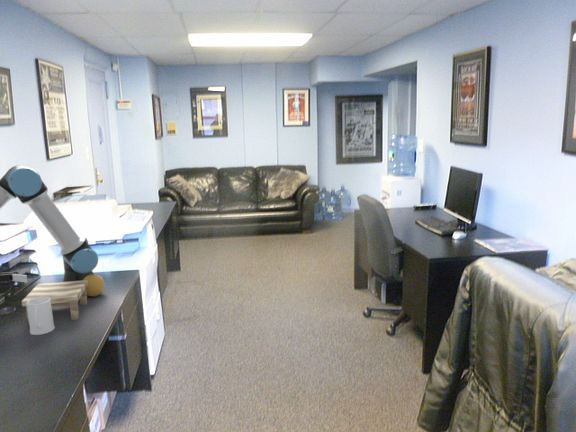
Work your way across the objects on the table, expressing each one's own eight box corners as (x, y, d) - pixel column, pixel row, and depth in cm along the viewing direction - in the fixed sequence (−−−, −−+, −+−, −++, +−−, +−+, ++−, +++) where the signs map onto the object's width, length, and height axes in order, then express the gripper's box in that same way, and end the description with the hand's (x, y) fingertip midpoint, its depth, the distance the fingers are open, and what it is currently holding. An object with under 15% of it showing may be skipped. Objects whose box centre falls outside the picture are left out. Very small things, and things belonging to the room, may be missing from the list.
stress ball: (108, 295, 213) (103, 278, 219) (104, 285, 206) (99, 267, 211) (85, 302, 210) (81, 284, 215) (81, 292, 202) (76, 273, 207)
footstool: (40, 306, 200) (37, 284, 198) (89, 301, 204) (87, 280, 202) (25, 325, 181) (21, 301, 179) (79, 320, 185) (76, 296, 183)
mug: (48, 337, 170) (44, 307, 168) (23, 340, 169) (18, 309, 166) (57, 324, 182) (53, 295, 179) (34, 326, 180) (30, 297, 178)
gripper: (-1, 278, 193) (39, 283, 187) (-62, 299, 170) (-19, 305, 164) (-4, 261, 192) (37, 265, 186) (-65, 280, 169) (-21, 285, 162)
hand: (11, 284), depth 175 cm, fingers open, 13 cm apart
